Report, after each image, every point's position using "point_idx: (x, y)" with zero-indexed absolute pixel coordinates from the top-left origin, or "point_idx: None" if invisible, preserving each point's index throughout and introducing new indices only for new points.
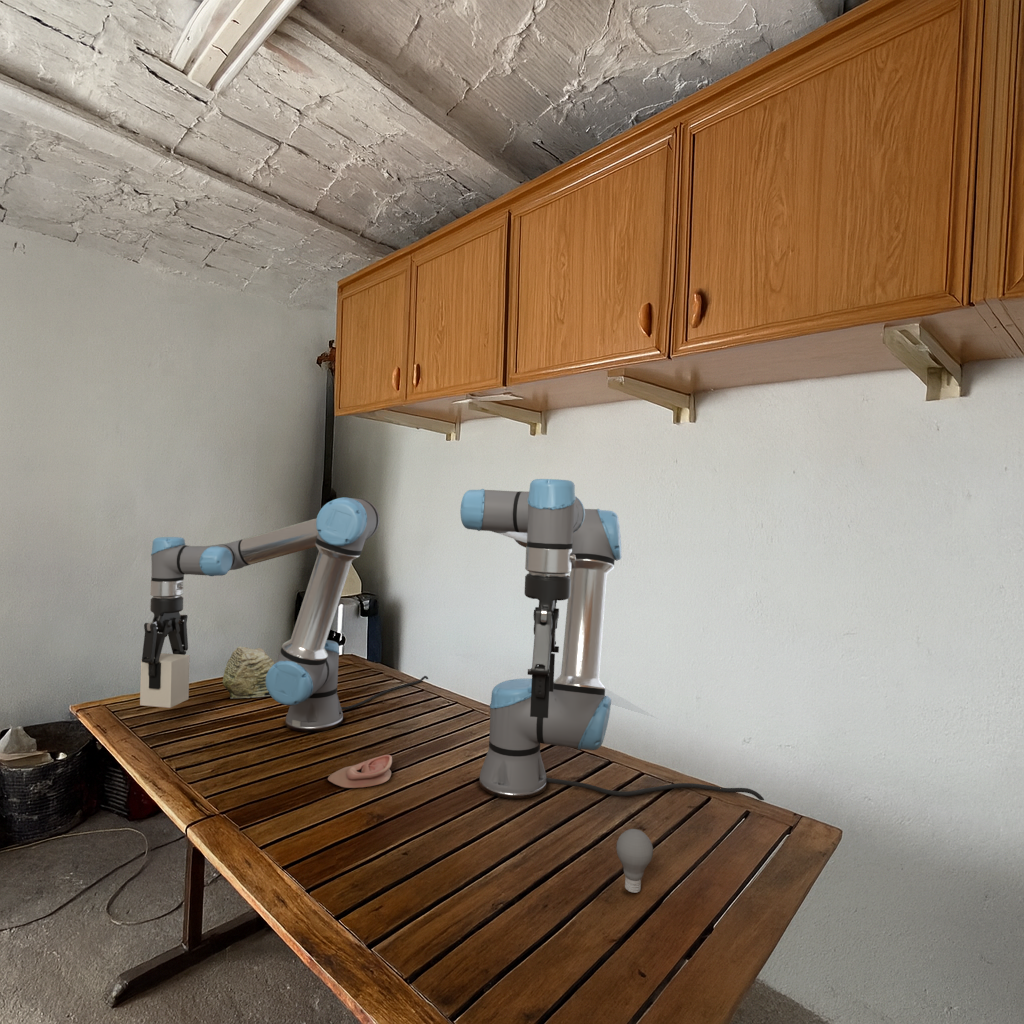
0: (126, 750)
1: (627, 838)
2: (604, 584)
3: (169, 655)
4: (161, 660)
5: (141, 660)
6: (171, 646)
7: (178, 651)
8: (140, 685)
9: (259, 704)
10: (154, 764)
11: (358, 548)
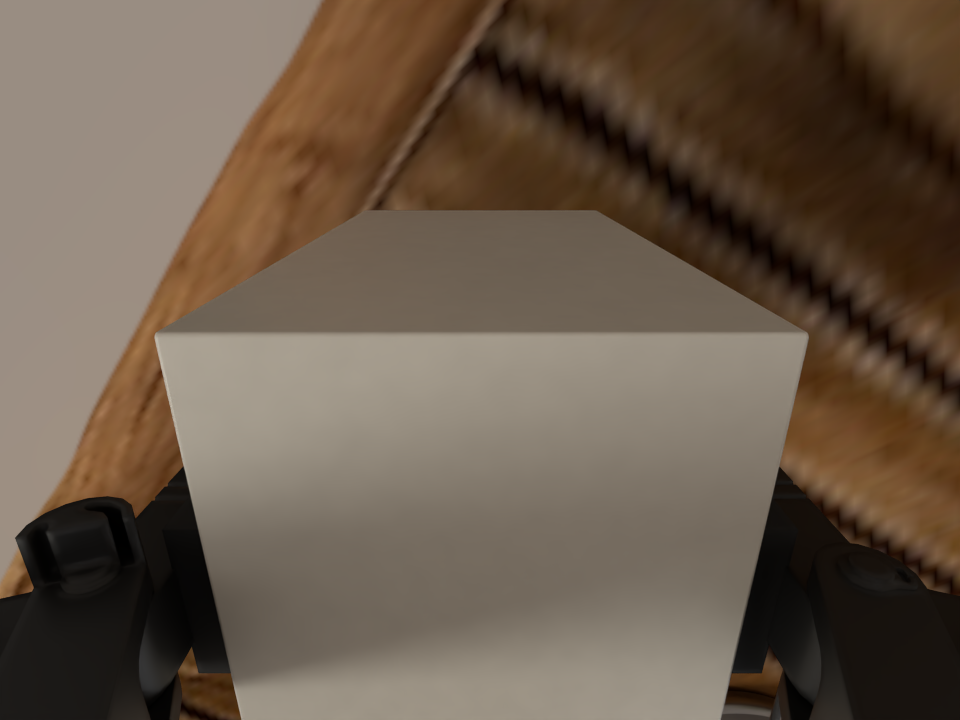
0: (201, 281)
1: None
2: None
3: (621, 610)
4: (263, 689)
5: (166, 339)
6: (847, 716)
7: (812, 690)
8: (317, 238)
9: (952, 498)
10: (142, 490)
11: None
